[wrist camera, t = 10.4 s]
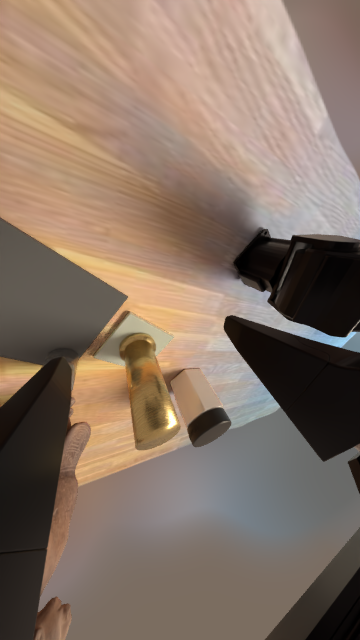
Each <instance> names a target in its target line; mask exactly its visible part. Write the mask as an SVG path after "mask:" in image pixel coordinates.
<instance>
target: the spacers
mask: <svg viewBox="0 0 360 640" xmlns="http://www.w3.org/2000/svg"><path fill="white" fill-rule="evenodd" d="M61 356H62V357H64V358H65V359H66V361H67V362H68V364H69V365H70V367H71V369H72V385H71V391H72V390H73V385H74V380H75V375H76V370H77V365H78V360H79V355H78V353H77V352H76V351H75V350H73V349H70V348H57V349H54V350H52V351H50V352H49V353H48V354H47V356H46V358H45V361H44V363H43V365H42V368H43V367H44V366H45V365H46V364H47V363H48V362H49V361H50V360H51V359H53V358H57V357H61Z"/></svg>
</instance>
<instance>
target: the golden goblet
mask: <svg viewBox="0 0 360 640" xmlns="http://www.w3.org/2000/svg"><path fill="white" fill-rule="evenodd" d="M155 351H156V344H155V341H154V339H153V337H152V336H150V335H149V334H146V333H134V334H131V335H129V336H127V337H126V338H124V339H123V340H122V342H121V343H120V346H119V353H120V357H121V359H122V360H123V361H125V367H126V375H127V383H128V391H129V399H130V407H131V415H132V423H133V431H134V439H135V447H136V449H138V450H148V449H152V448H155V447H157V446H159V445H161V444H163V443H165V442H167V441H168V440H170V439H171V438H173V437H174V436H175V435H176V434H177V433H178V432H179V430H180V423H179V421H178V418H177V415H176V412H175V409H174V406H173V404H172V401H171V398H170V395H169V392H168V389H167V386H166V384H165V381H164V378H163V375H162V372H161V369H160V367H159V364H158V361H157V358H156V355H155Z"/></svg>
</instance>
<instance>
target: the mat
mask: <svg viewBox="0 0 360 640" xmlns="http://www.w3.org/2000/svg"><path fill="white" fill-rule="evenodd" d="M127 298H128V296H126V295H125V294H123V293H121V292H120V291H118V290H116V289H115V288H113V287H112V286H110V285H108V284H107V283H105V282H104V281H102V280H100V279H99V278H97V277H95V276H94V275H92V274H91V273H89V272H87V271H86V270H84V269H82V268H81V267H79V266H78V265H76V264H74V263H73V262H71V261H70V260H68V259H66V258H65V257H63V256H61V255H60V254H58V253H57V252H55V251H53V250H52V249H50V248H48V247H47V246H45V245H44V244H42V243H40V242H39V241H37V240H36V239H34V238H32V237H31V236H29V235H27V234H26V233H24V232H23V231H21V230H19V229H18V228H16V227H14V226H13V225H11V224H10V223H8V222H6V221H5V220H3V219H1V218H0V357H5V358H10V359H15V360H20V361H25V362H29V363H34V364H39V365H43V363H44V361H45V358H46V356H47V354H48V353H49V352H50V351H52V350H54V349H57V348H70V349H73V350H75V351H76V352H77V353H78V355H79V358H80V357H81V356H82V355H83V353H84V352H85V351H86V350H87V348H88V347H89V346H90V345H91V343H92V342H93V341H94V340H95V338H96V337H97V336H98V334H99V333H100V332H101V331H102V329H103V328H104V327H105V326H106V324H107V323H108V322H109V321H110V319H111V318H112V317H113V316H114V314H115V313H116V312H117V311H118V309H119V308H120V307H121V306H122V304H123V303H124V302H125V301H126V299H127Z"/></svg>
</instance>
